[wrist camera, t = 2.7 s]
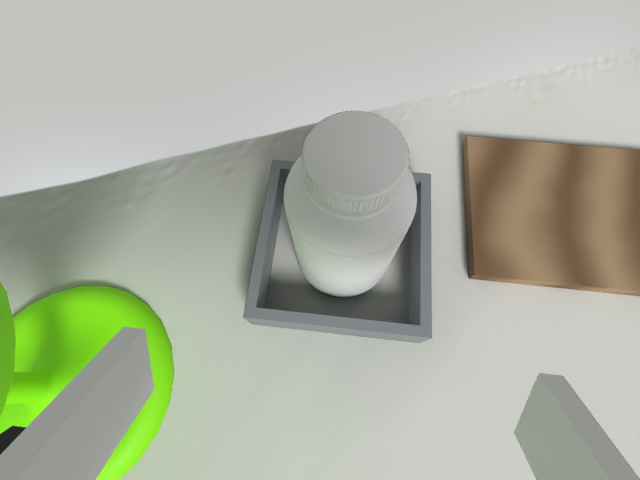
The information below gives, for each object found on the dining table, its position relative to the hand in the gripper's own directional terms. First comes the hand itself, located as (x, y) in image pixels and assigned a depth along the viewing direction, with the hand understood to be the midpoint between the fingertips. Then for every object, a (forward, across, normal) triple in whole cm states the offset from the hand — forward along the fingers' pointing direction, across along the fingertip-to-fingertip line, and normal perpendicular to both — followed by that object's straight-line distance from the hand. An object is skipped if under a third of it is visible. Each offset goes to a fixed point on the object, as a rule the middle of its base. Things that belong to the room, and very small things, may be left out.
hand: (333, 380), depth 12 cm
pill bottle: (+19, 0, -4) cm, 19 cm away
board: (+23, +20, 0) cm, 31 cm away
